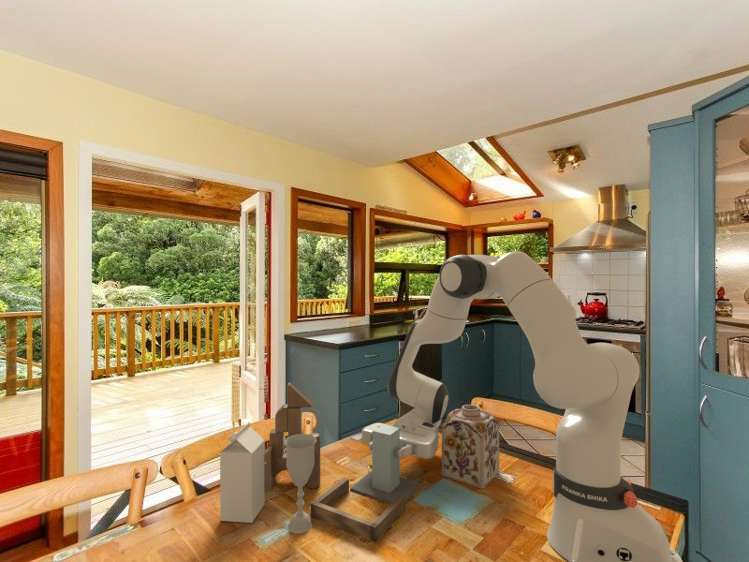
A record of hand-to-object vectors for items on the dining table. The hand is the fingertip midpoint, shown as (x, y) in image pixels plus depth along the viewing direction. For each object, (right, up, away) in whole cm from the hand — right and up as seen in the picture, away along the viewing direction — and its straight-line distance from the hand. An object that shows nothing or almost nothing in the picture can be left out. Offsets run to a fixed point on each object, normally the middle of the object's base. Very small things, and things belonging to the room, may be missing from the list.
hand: (384, 450), depth 98 cm
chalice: (-18, -10, -14) cm, 25 cm away
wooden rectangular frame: (-6, -10, -10) cm, 15 cm away
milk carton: (-32, -10, -10) cm, 34 cm away
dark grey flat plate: (0, -9, +1) cm, 10 cm away
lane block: (0, -9, +1) cm, 9 cm away
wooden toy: (-24, -10, +3) cm, 26 cm away
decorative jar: (+23, -10, +8) cm, 26 cm away
